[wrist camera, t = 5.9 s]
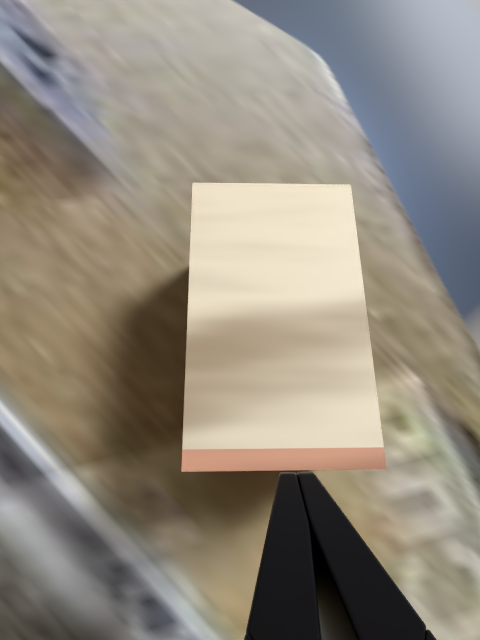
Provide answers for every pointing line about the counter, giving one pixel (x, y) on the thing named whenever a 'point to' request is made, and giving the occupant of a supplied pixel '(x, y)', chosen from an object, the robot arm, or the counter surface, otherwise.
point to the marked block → (277, 333)
